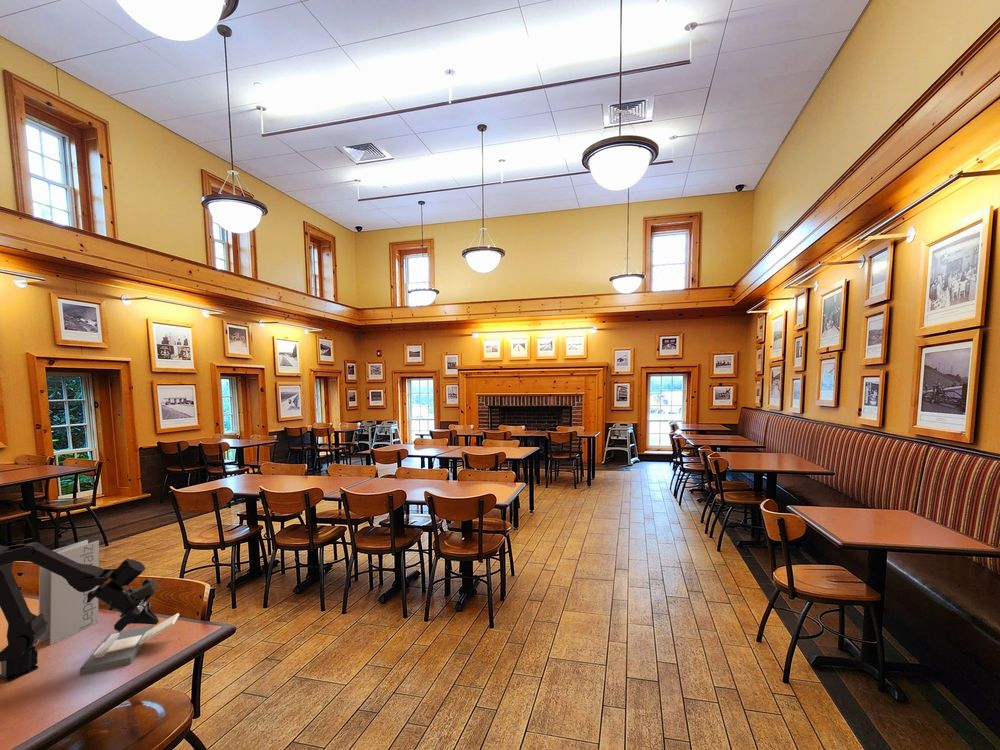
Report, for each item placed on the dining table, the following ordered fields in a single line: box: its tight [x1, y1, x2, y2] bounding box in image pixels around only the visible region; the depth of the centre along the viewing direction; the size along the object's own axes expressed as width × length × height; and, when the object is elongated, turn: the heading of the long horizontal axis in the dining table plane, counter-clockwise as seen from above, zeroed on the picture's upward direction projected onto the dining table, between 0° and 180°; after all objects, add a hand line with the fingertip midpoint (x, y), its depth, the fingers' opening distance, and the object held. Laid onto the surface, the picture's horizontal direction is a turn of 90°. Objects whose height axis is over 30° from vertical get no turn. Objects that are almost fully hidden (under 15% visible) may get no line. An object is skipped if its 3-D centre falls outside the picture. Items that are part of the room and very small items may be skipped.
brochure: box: [38, 539, 100, 645], centre depth 151 cm, size 14×6×30 cm, turn 168°
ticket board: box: [79, 624, 154, 676], centre depth 138 cm, size 12×20×3 cm, turn 24°
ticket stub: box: [139, 612, 180, 645], centre depth 143 cm, size 1×7×10 cm
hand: (157, 622), depth 143 cm, fingers closed
